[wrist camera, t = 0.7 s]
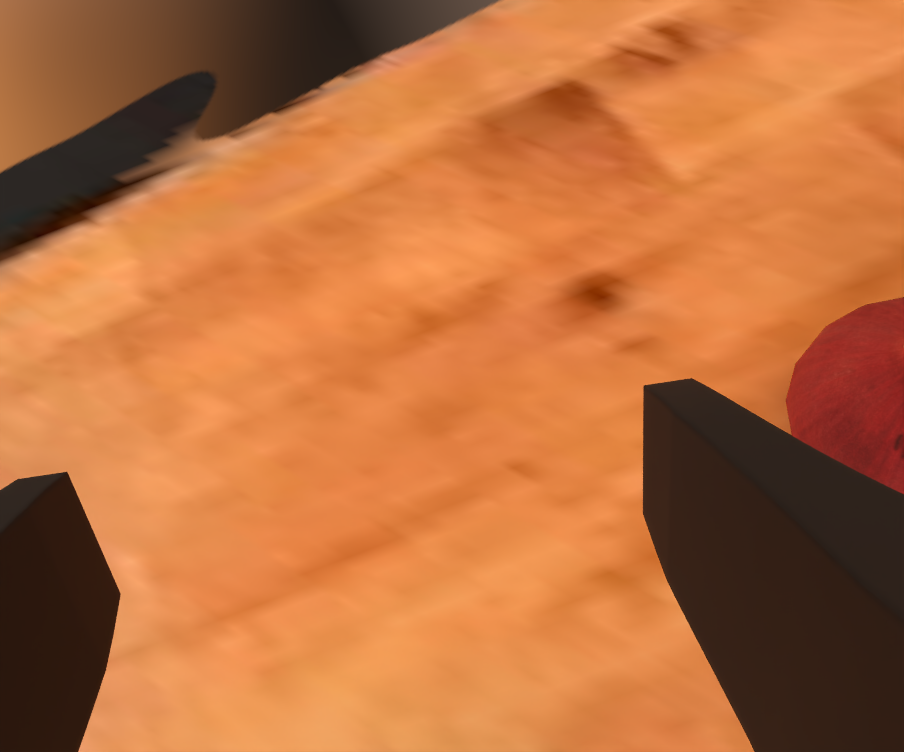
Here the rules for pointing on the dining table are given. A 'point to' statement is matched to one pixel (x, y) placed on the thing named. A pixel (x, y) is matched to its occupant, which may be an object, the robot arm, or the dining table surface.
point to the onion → (855, 392)
